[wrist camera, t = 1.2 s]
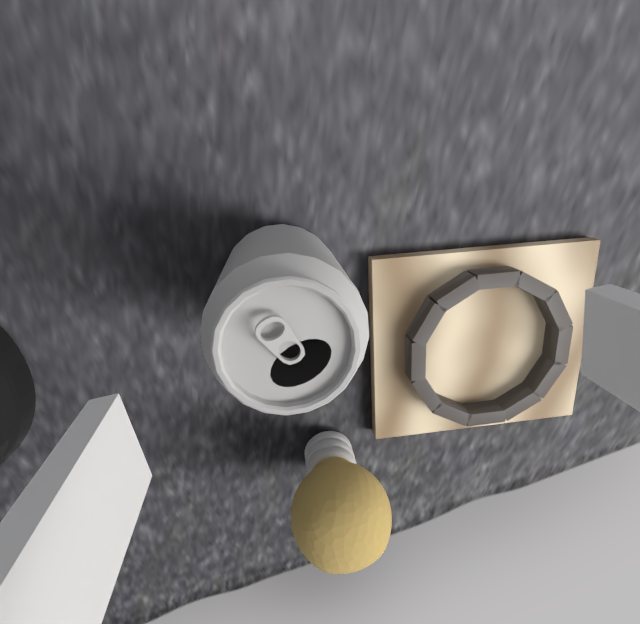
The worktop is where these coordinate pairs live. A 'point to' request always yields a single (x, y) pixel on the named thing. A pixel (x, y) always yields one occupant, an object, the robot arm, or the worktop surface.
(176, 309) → the worktop surface
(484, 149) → the worktop surface
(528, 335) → the board
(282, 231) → the can
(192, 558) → the worktop surface
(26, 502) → the robot arm
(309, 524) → the light bulb
